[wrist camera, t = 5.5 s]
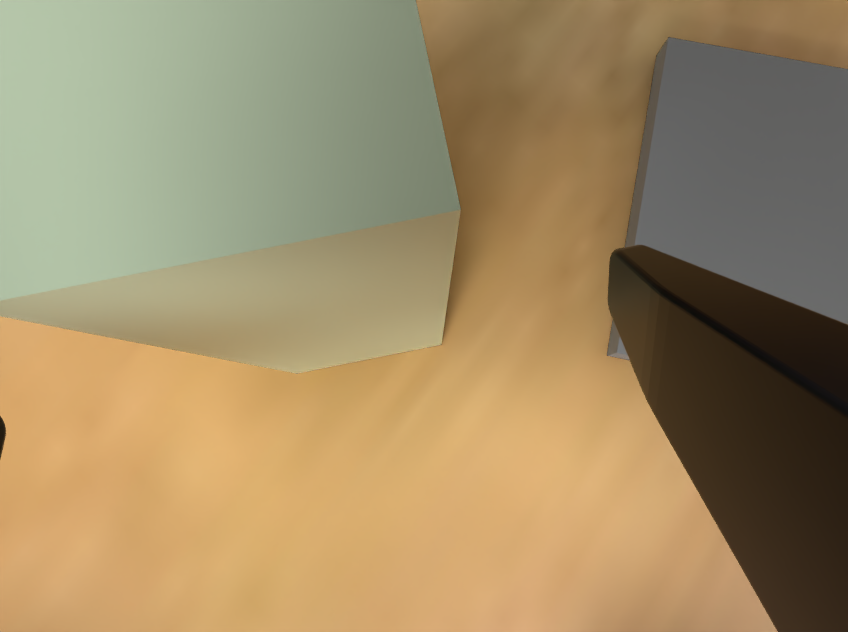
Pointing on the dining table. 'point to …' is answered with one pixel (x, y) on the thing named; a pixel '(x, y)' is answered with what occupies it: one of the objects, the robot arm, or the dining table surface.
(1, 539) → the dining table surface
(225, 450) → the dining table surface
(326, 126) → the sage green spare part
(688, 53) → the slate grey pad
